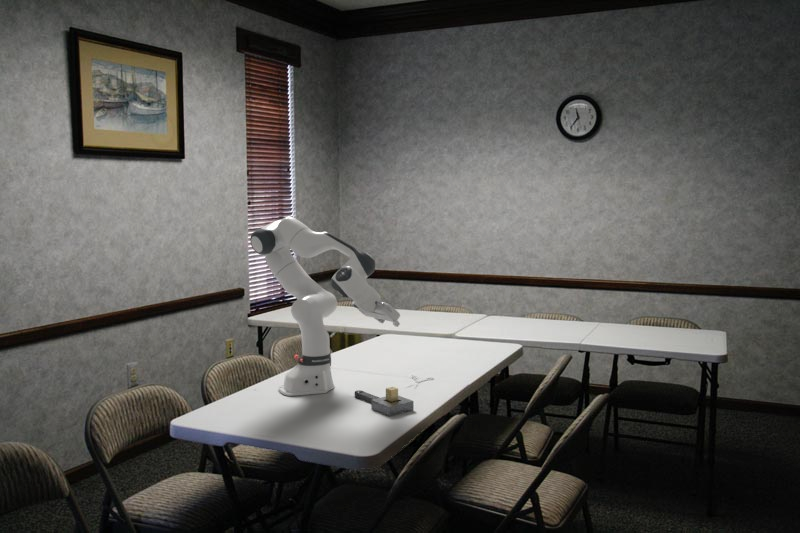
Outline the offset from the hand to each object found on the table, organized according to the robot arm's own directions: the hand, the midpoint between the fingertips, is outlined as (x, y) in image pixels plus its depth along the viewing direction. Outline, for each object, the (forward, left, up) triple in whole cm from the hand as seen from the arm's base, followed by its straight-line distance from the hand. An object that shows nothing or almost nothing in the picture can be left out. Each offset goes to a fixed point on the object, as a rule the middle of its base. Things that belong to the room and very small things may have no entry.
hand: (390, 323), depth 265 cm
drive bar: (-6, -13, -29) cm, 33 cm away
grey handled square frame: (-7, -4, -29) cm, 31 cm away
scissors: (+19, +16, -30) cm, 39 cm away
